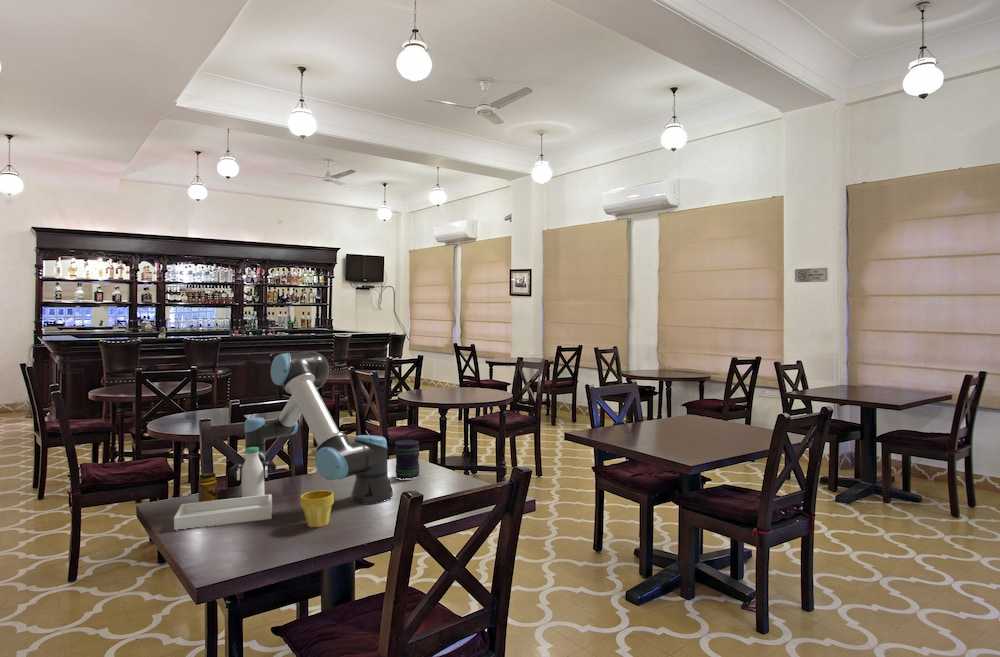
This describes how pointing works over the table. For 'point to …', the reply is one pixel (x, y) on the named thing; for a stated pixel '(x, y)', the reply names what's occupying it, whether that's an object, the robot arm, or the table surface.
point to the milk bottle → (252, 474)
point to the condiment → (207, 487)
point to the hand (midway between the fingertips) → (252, 475)
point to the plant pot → (317, 507)
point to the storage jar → (407, 458)
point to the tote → (223, 512)
